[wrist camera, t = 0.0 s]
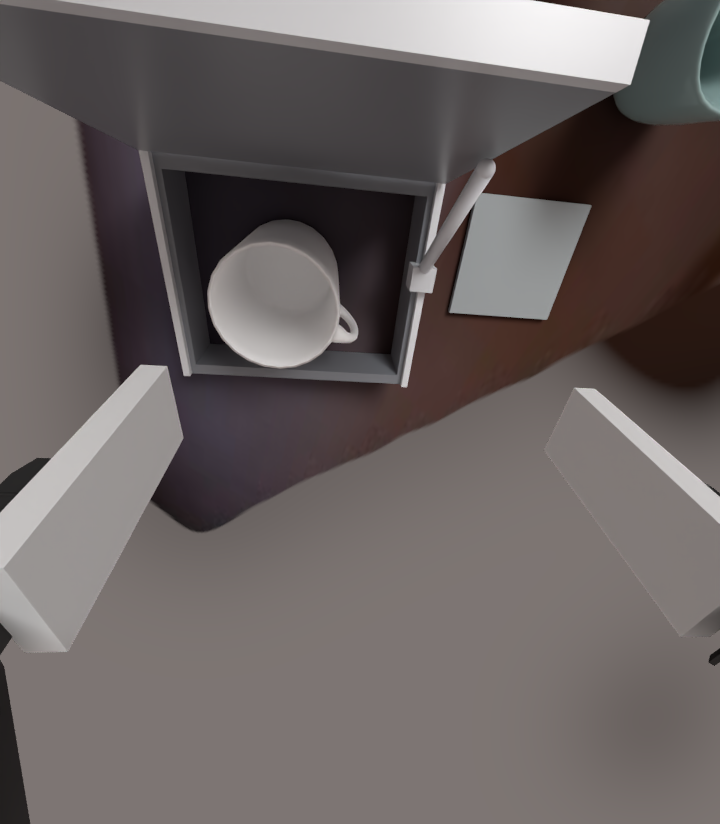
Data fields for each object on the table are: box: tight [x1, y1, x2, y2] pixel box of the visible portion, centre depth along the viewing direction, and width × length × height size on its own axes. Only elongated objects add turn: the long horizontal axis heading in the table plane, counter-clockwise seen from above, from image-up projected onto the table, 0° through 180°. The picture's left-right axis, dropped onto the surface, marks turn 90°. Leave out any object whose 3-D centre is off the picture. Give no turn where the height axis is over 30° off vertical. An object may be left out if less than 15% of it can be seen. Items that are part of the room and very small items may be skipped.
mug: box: [207, 219, 358, 369], centre depth 32 cm, size 10×12×12 cm
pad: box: [448, 193, 592, 320], centre depth 37 cm, size 11×11×1 cm
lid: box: [0, 0, 650, 184], centre depth 18 cm, size 19×22×1 cm
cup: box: [613, 0, 720, 126], centre depth 25 cm, size 8×8×10 cm
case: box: [139, 150, 496, 387], centre depth 29 cm, size 20×23×16 cm
